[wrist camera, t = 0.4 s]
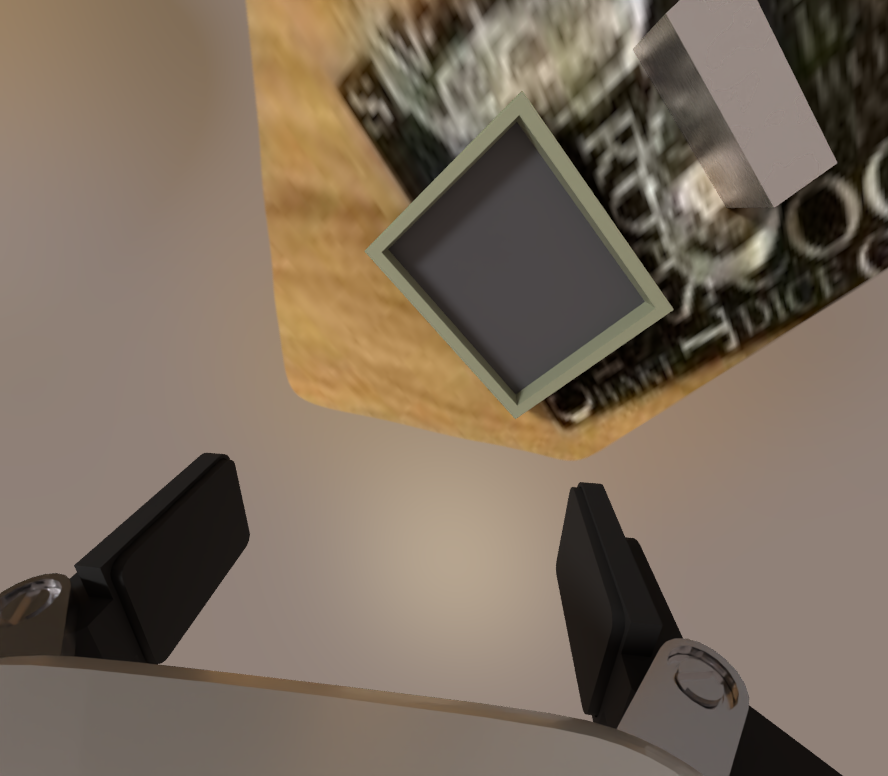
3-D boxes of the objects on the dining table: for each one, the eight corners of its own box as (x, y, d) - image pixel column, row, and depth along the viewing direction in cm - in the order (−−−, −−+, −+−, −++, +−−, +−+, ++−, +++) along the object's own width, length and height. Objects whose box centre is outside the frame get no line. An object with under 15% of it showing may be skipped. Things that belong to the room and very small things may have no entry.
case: (518, 102, 31) (522, 90, 28) (657, 300, 36) (673, 309, 33) (374, 247, 37) (364, 251, 33) (513, 402, 42) (515, 419, 38)
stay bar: (684, -1, 28) (732, -50, 23) (776, 170, 32) (837, 162, 26) (632, 49, 30) (665, 13, 24) (726, 207, 33) (774, 207, 28)
